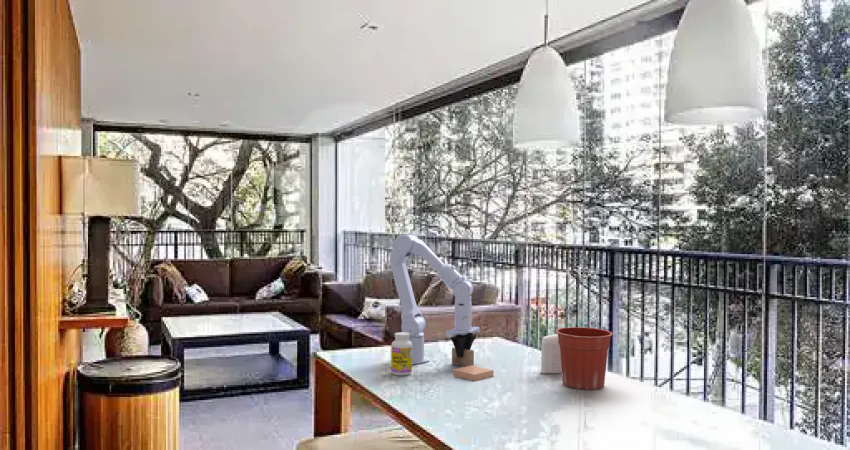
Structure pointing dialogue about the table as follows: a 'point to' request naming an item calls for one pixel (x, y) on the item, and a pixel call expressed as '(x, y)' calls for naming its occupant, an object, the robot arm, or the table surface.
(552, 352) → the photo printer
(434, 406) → the table surface
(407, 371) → the supplement bottle
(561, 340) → the flower pot
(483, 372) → the glazed tile
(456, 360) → the bar
